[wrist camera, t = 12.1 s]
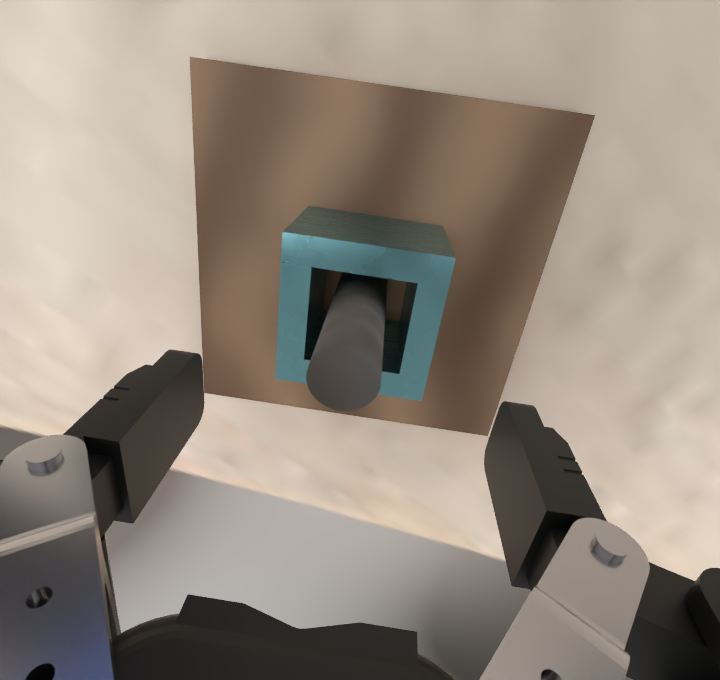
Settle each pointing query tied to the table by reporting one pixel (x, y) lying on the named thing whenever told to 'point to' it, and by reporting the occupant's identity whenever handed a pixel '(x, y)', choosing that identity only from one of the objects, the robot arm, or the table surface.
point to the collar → (371, 258)
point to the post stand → (380, 198)
